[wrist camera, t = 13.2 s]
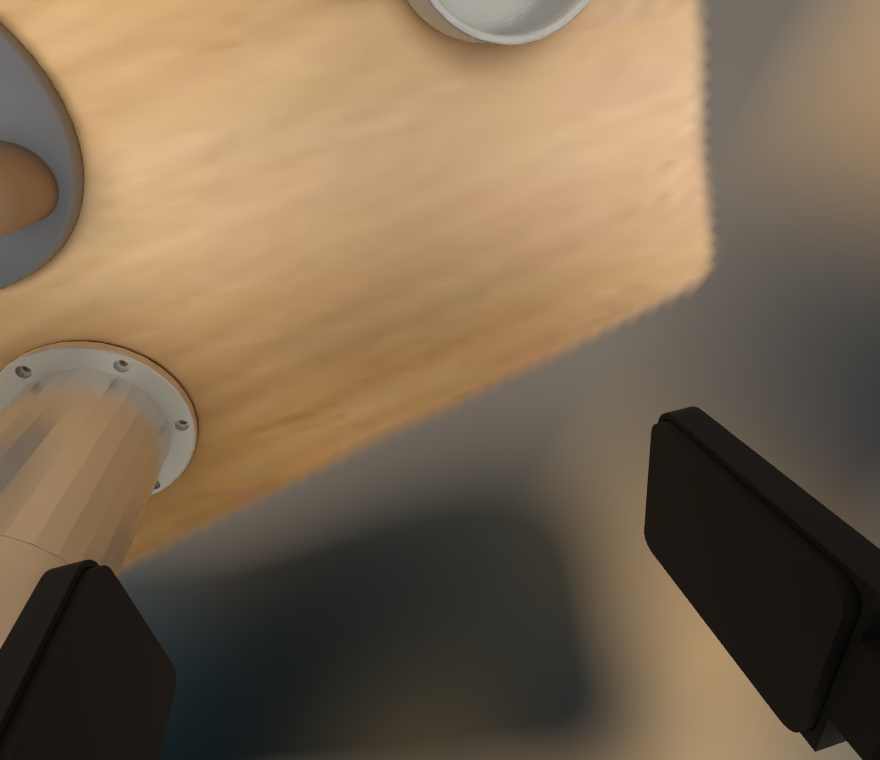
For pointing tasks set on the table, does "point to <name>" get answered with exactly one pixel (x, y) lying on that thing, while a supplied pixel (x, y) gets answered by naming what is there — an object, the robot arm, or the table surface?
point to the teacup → (498, 18)
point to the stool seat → (34, 165)
